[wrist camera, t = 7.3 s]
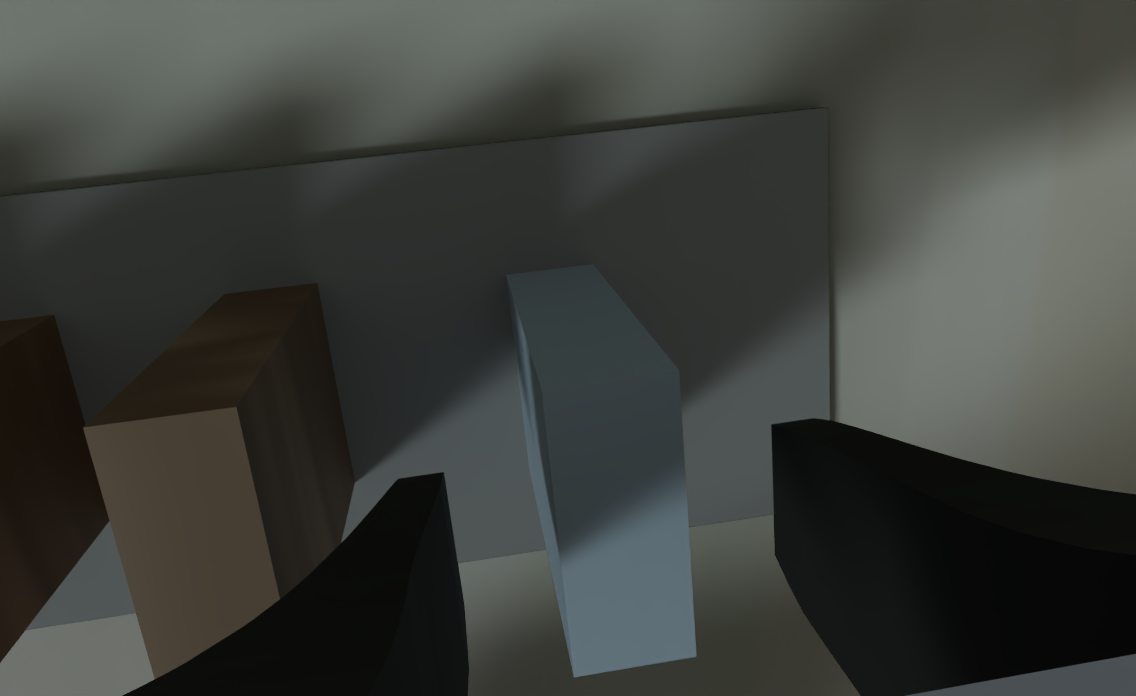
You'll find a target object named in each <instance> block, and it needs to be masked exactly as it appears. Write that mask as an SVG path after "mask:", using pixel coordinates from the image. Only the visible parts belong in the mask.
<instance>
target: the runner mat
mask: <svg viewBox="0 0 1136 696" xmlns="http://www.w3.org/2000/svg"><path fill="white" fill-rule="evenodd" d="M590 264H593V265H594V266H595V267H596V268H597V270H598V271H599V272H600V273H601V275H602V276H603V277H604V278H605V280H606V281H607V282H608V283H609V284H610V286H611V287H612V288H613V289H614V291H615V292H616V293H617V294H618V296H619V297H620V298H621V299H622V300H623V302H624V303H625V304H626V305H627V307H628V308H629V309H630V310H631V312H632V313H633V314H634V315H635V317H636V318H637V319H638V320H639V321H640V323H641V324H642V325H643V326H644V328H645V329H646V330H647V331H648V333H649V334H650V335H651V336H652V337H653V339H654V340H655V341H656V342H657V344H658V345H659V346H660V347H661V349H662V350H663V351H664V352H665V353H666V355H667V356H668V357H669V358H670V360H671V361H672V362H673V363H674V365H675V366H676V367H677V368H678V370H679V375H680V392H681V408H682V425H683V441H684V458H685V474H686V491H687V507H688V524H689V527H695V526H701V525H708V524H714V523H721V522H727V521H734V520H740V519H747V518H753V517H760V516H766V515H772V514H774V504H773V470H772V436H771V424H777V423H784V422H790V421H797V420H804V419H811V418H817V419H825V420H830V348H829V164H828V108H823V107H822V108H812V109H803V110H794V111H784V112H775V113H766V114H757V115H747V116H738V117H729V118H720V119H710V120H701V121H692V122H683V123H673V124H664V125H655V126H646V127H636V128H627V129H618V130H609V131H599V132H590V133H581V134H572V135H562V136H553V137H544V138H535V139H525V140H516V141H507V142H498V143H488V144H479V145H470V146H461V147H451V148H442V149H433V150H424V151H414V152H405V153H396V154H386V155H377V156H368V157H359V158H349V159H340V160H331V161H322V162H312V163H303V164H294V165H285V166H275V167H266V168H257V169H248V170H238V171H229V172H220V173H211V174H201V175H192V176H183V177H174V178H164V179H155V180H146V181H137V182H127V183H118V184H109V185H100V186H90V187H81V188H72V189H63V190H53V191H44V192H35V193H26V194H16V195H7V196H0V321H6V320H15V319H23V318H31V317H39V316H48V315H54V316H55V319H56V323H57V326H58V330H59V333H60V337H61V340H62V344H63V347H64V351H65V354H66V358H67V361H68V365H69V368H70V372H71V375H72V379H73V382H74V386H75V389H76V393H77V397H78V400H79V404H80V407H81V411H82V414H83V418H84V421H85V425H86V424H87V423H88V422H89V421H90V420H91V419H93V418H94V417H95V416H96V415H97V414H98V413H99V412H100V411H101V410H102V409H103V408H104V407H105V406H106V405H107V404H108V403H109V402H111V401H112V400H113V399H114V398H115V397H116V396H117V395H118V394H119V393H120V392H121V391H122V390H123V389H124V388H125V387H126V386H127V385H129V384H130V383H131V382H132V381H133V380H134V379H135V378H136V377H137V376H138V375H139V374H140V373H141V372H142V371H143V370H144V369H145V368H147V367H148V366H149V365H150V364H151V363H152V362H153V361H154V360H155V359H156V358H157V357H158V356H159V355H160V354H161V353H162V352H163V351H165V350H166V349H167V348H168V347H169V346H170V345H171V344H172V343H173V342H174V341H175V340H176V339H177V338H178V337H179V336H180V335H181V334H183V333H184V332H185V331H186V330H187V329H188V328H189V327H190V326H191V325H192V324H193V323H194V322H195V321H196V320H197V319H198V318H200V317H201V316H202V315H203V314H204V313H205V312H206V311H207V310H208V309H209V308H210V307H211V306H212V305H213V304H214V303H215V302H216V301H218V300H219V299H220V298H221V297H222V296H223V295H224V294H229V293H237V292H245V291H254V290H262V289H270V288H278V287H286V286H295V285H303V284H311V283H318V289H319V294H320V299H321V305H322V310H323V315H324V321H325V326H326V331H327V337H328V342H329V347H330V353H331V358H332V363H333V369H334V374H335V379H336V385H337V390H338V395H339V401H340V406H341V411H342V417H343V422H344V427H345V433H346V438H347V443H348V449H349V454H350V459H351V465H352V470H353V475H354V480H355V485H354V489H353V493H352V498H351V502H350V506H349V511H348V515H347V519H346V524H345V528H344V532H343V537H342V541H341V543H342V542H343V541H344V540H345V539H346V538H347V537H348V536H349V534H350V533H351V532H352V531H353V530H354V529H355V528H356V527H357V525H358V524H359V523H360V522H361V521H362V520H363V519H364V518H365V516H366V515H367V514H368V513H369V512H370V511H371V510H372V508H373V507H374V506H375V505H376V504H377V502H378V501H379V500H380V499H381V498H382V497H383V495H384V494H385V493H386V492H387V491H388V489H389V488H390V487H391V486H392V485H393V484H394V482H395V481H396V480H397V479H399V478H406V477H413V476H420V475H427V474H434V473H440V472H444V476H445V482H446V489H447V495H448V502H449V508H450V515H451V522H452V528H453V535H454V541H455V548H456V554H457V561H458V563H462V562H469V561H475V560H482V559H488V558H495V557H501V556H508V555H514V554H521V553H527V552H533V551H540V550H546V545H545V540H544V536H543V531H542V526H541V522H540V517H539V512H538V508H537V503H536V498H535V493H534V489H533V484H532V479H531V475H530V470H529V461H528V453H527V445H526V436H525V428H524V420H523V411H522V403H521V395H520V386H519V378H518V370H517V362H516V353H515V345H514V337H513V328H512V320H511V312H510V303H509V295H508V287H507V278H506V275H509V274H517V273H525V272H533V271H541V270H549V269H558V268H566V267H574V266H582V265H590ZM133 613H136V611H135V608H134V604H133V601H132V597H131V594H130V590H129V587H128V583H127V580H126V576H125V573H124V569H123V566H122V562H121V559H120V555H119V552H118V548H117V545H116V541H115V538H114V534H113V531H112V527H111V524H110V521H109V522H108V524H107V525H106V526H105V528H104V529H103V530H102V531H101V533H100V534H99V535H98V537H97V538H96V539H95V541H94V542H93V543H92V544H91V546H90V547H89V548H88V550H87V551H86V552H85V554H84V555H83V556H82V557H81V559H80V560H79V561H78V563H77V564H76V565H75V566H74V568H73V569H72V570H71V572H70V573H69V574H68V576H67V577H66V578H65V579H64V581H63V582H62V583H61V585H60V586H59V587H58V588H57V590H56V591H55V592H54V594H53V595H52V596H51V598H50V599H49V600H48V601H47V603H46V604H45V605H44V607H43V608H42V609H41V611H40V612H39V613H38V614H37V616H36V617H35V618H34V620H33V621H32V622H31V623H30V625H29V626H28V627H27V629H26V630H30V629H36V628H43V627H49V626H56V625H62V624H68V623H75V622H81V621H88V620H94V619H101V618H107V617H114V616H120V615H127V614H133Z"/></svg>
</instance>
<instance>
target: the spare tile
mask: <svg viewBox="0 0 1136 696" xmlns="http://www.w3.org/2000/svg"><path fill="white" fill-rule="evenodd" d="M506 278H507V287H508V295H509V303H510V312H511V320H512V328H513V337H514V345H515V353H516V362H517V370H518V378H519V386H520V395H521V403H522V411H523V420H524V428H525V436H526V445H527V453H528V461H529V470H530V475H531V479H532V484H533V489H534V493H535V498H536V503H537V508H538V512H539V517H540V522H541V526H542V531H543V536H544V540H545V545H546V550H547V554H548V559H549V564H550V568H551V573H552V578H553V582H554V587H555V592H556V596H557V601H558V606H559V610H560V615H561V620H562V624H563V629H564V634H565V638H566V643H567V648H568V652H569V657H570V662H571V666H572V671H573V676H574V677H580V676H586V675H592V674H598V673H604V672H609V671H615V670H621V669H627V668H633V667H639V666H645V665H651V664H657V663H662V662H668V661H674V660H680V659H686V658H692V657H697V655H696V639H695V622H694V606H693V589H692V573H691V556H690V540H689V524H688V507H687V491H686V474H685V458H684V441H683V425H682V408H681V392H680V375H679V370H678V368H677V367H676V366H675V365H674V363H673V362H672V361H671V360H670V358H669V357H668V356H667V355H666V353H665V352H664V351H663V350H662V349H661V347H660V346H659V345H658V344H657V342H656V341H655V340H654V339H653V337H652V336H651V335H650V334H649V333H648V331H647V330H646V329H645V328H644V326H643V325H642V324H641V323H640V321H639V320H638V319H637V318H636V317H635V315H634V314H633V313H632V312H631V310H630V309H629V308H628V307H627V305H626V304H625V303H624V302H623V300H622V299H621V298H620V297H619V296H618V294H617V293H616V292H615V291H614V289H613V288H612V287H611V286H610V284H609V283H608V282H607V281H606V280H605V278H604V277H603V276H602V275H601V273H600V272H599V271H598V270H597V268H596V267H595V266H594V265H593V264H590V265H582V266H574V267H566V268H558V269H549V270H541V271H533V272H525V273H517V274H509V275H506Z"/></svg>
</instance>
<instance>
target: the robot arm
mask: <svg viewBox="0 0 1136 696" xmlns="http://www.w3.org/2000/svg"><path fill="white" fill-rule="evenodd" d="M771 436H772V470H773V504H774V538H775V556H776V558H777V560H778V562H779V565H780V567H781V569H782V571H783V573H784V575H785V577H786V579H787V581H788V584H789V586H790V588H791V590H792V592H793V594H794V595H795V597H796V599H797V601H798V603H799V605H800V607H801V609H802V611H803V613H804V614H805V616H806V617H807V619H808V620H809V622H810V623H811V625H812V626H813V628H814V629H815V631H816V632H817V634H818V635H819V636H820V638H821V639H822V641H823V642H824V644H825V645H826V647H827V648H828V649H829V651H830V652H831V654H832V655H833V657H834V658H835V660H836V661H837V662H838V664H839V665H840V667H841V668H842V670H843V671H844V672H845V674H846V675H847V677H848V678H849V679H850V681H851V682H852V684H853V685H854V687H855V688H856V689H857V691H858V692H859V694H860V695H861V696H1136V494H1127V493H1120V492H1113V491H1107V490H1100V489H1093V488H1088V487H1082V486H1077V485H1072V484H1066V483H1061V482H1055V481H1050V480H1045V479H1039V478H1035V477H1030V476H1026V475H1021V474H1016V473H1012V472H1008V471H1004V470H1000V469H996V468H993V467H989V466H985V465H981V464H977V463H973V462H969V461H966V460H962V459H959V458H955V457H952V456H948V455H945V454H941V453H938V452H934V451H931V450H928V449H924V448H921V447H918V446H915V445H912V444H908V443H905V442H902V441H899V440H896V439H892V438H889V437H886V436H883V435H879V434H876V433H873V432H870V431H867V430H863V429H860V428H857V427H853V426H849V425H846V424H842V423H838V422H834V421H830V420H825V419H817V418H811V419H804V420H797V421H790V422H784V423H777V424H771ZM468 675H469V664H468V649H467V635H466V622H465V608H464V600H463V594H462V587H461V581H460V574H459V567H458V561H457V554H456V548H455V541H454V535H453V528H452V522H451V515H450V508H449V502H448V495H447V489H446V482H445V476H444V472H440V473H434V474H427V475H420V476H413V477H406V478H399V479H397V480H396V481H395V482H394V484H393V485H392V486H391V487H390V488H389V489H388V491H387V492H386V493H385V494H384V495H383V497H382V498H381V499H380V500H379V501H378V502H377V504H376V505H375V506H374V507H373V508H372V510H371V511H370V512H369V513H368V514H367V515H366V516H365V518H364V519H363V520H362V521H361V522H360V523H359V524H358V525H357V527H356V528H355V529H354V530H353V531H352V532H351V533H350V534H349V536H348V537H347V538H346V539H345V540H344V541H343V542H342V543H341V544H340V545H339V546H338V547H337V548H336V549H335V550H334V551H333V552H332V553H330V554H329V555H328V556H327V557H326V558H325V559H324V560H323V561H322V562H321V563H320V564H319V565H318V566H317V567H316V568H315V569H314V570H313V571H312V572H311V573H310V574H309V575H308V576H307V577H306V578H305V579H303V580H302V581H301V582H300V583H299V584H298V585H297V586H295V587H294V588H293V589H292V590H291V591H289V592H288V593H287V594H286V595H285V596H283V597H282V598H281V599H280V600H278V601H277V602H276V603H274V604H273V605H272V606H270V607H269V608H268V609H266V610H265V611H264V612H262V613H261V614H260V615H258V616H257V617H256V618H254V619H253V620H252V621H250V622H249V623H247V624H246V625H245V626H243V627H242V628H240V629H238V630H237V631H235V632H234V633H232V634H230V635H229V636H227V637H226V638H224V639H222V640H221V641H219V642H218V643H216V644H215V645H213V646H211V647H210V648H208V649H207V650H205V651H203V652H202V653H200V654H199V655H197V656H195V657H194V658H192V659H191V660H189V661H187V662H186V663H184V664H182V665H181V666H179V667H177V668H175V669H173V670H171V671H170V672H168V673H166V674H164V675H162V676H160V677H158V678H156V679H155V680H153V681H151V682H149V683H147V684H145V685H143V686H141V687H139V688H137V689H135V690H133V691H131V692H129V693H127V694H125V695H123V696H467V695H468Z"/></svg>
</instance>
